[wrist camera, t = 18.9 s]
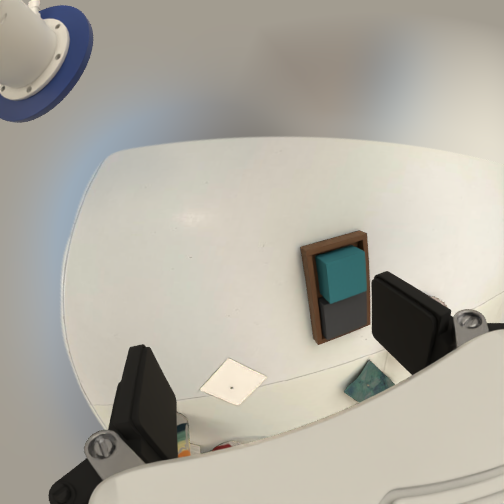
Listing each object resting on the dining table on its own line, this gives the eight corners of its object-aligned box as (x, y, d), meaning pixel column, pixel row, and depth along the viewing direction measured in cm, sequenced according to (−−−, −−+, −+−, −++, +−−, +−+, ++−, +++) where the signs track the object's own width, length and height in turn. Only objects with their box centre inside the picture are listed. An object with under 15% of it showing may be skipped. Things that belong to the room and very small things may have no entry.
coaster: (267, 377, 44) (268, 379, 43) (238, 405, 45) (238, 408, 44) (228, 357, 41) (229, 360, 40) (199, 389, 42) (199, 392, 41)
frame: (300, 246, 39) (305, 250, 37) (359, 230, 40) (366, 233, 38) (313, 338, 44) (318, 345, 42) (364, 318, 45) (370, 324, 43)
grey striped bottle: (193, 424, 44) (204, 517, 26) (167, 432, 44) (171, 522, 25) (177, 407, 43) (183, 507, 24) (151, 415, 42) (148, 511, 23)
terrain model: (339, 386, 48) (343, 392, 46) (368, 357, 48) (373, 363, 46) (366, 405, 53) (370, 410, 51) (391, 381, 53) (396, 385, 51)
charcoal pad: (316, 298, 41) (323, 305, 39) (358, 283, 42) (366, 289, 40) (320, 332, 43) (326, 340, 41) (359, 317, 44) (367, 324, 42)
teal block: (314, 255, 39) (325, 263, 35) (351, 244, 40) (365, 251, 36) (319, 293, 41) (330, 304, 37) (354, 281, 42) (367, 290, 38)
